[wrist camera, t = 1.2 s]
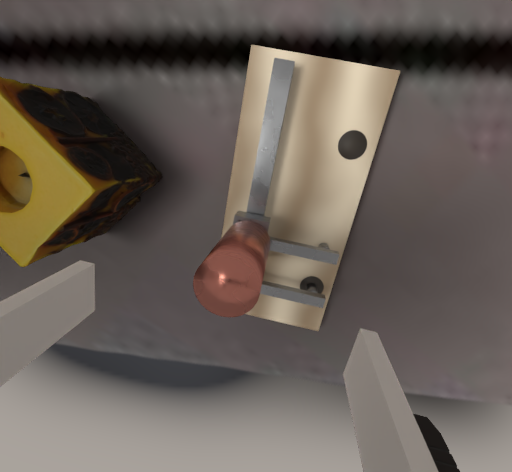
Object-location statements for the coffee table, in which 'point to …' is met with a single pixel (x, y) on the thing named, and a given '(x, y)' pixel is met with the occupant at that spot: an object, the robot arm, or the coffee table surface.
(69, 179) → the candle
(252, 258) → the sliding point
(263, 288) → the rail
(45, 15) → the coffee table surface
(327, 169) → the board
